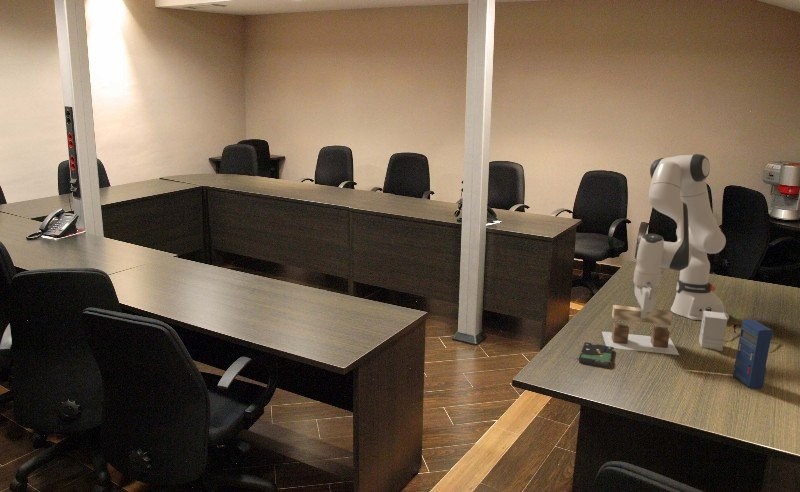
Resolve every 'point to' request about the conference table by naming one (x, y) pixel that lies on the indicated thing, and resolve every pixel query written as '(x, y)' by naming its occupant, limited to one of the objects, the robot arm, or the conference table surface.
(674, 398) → the conference table surface
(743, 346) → the electronic device
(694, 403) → the conference table surface
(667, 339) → the pillar
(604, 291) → the conference table surface
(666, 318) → the plank
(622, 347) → the board
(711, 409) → the conference table surface
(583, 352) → the disk drive
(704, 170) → the robot arm
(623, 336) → the pillar
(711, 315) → the supplement box
